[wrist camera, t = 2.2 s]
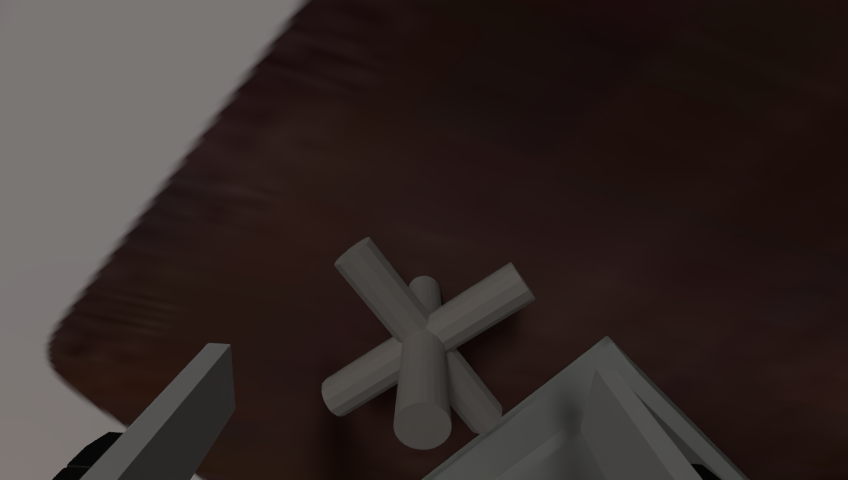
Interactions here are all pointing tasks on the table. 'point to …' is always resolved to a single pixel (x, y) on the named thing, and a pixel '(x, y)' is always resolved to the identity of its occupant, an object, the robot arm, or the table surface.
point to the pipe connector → (423, 347)
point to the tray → (573, 429)
